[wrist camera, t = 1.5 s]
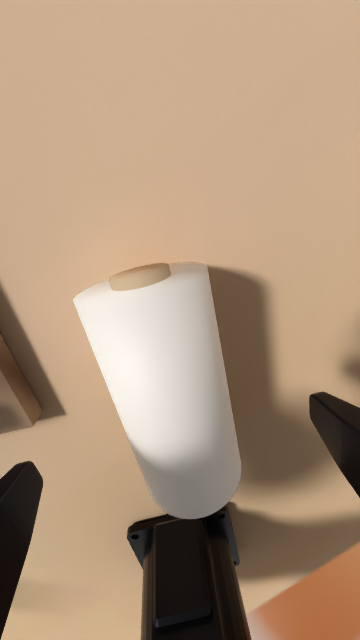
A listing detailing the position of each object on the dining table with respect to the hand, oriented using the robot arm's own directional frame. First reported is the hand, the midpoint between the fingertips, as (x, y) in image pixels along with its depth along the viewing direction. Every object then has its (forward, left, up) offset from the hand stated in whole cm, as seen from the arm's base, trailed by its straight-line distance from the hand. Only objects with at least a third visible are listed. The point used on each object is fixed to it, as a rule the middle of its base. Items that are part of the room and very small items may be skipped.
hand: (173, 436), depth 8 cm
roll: (0, 0, -4) cm, 4 cm away
